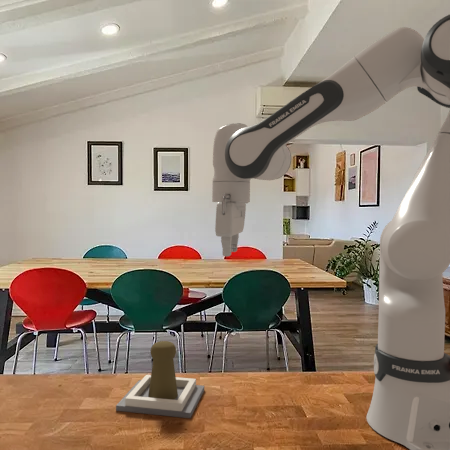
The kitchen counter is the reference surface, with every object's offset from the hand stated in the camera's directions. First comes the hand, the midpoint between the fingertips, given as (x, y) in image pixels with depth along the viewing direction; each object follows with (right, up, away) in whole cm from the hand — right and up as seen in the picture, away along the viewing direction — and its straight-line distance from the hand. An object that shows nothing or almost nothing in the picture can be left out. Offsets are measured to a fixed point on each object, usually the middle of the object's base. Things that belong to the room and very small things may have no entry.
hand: (230, 253), depth 95 cm
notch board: (-14, -29, -12) cm, 35 cm away
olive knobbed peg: (-14, -29, -12) cm, 34 cm away
